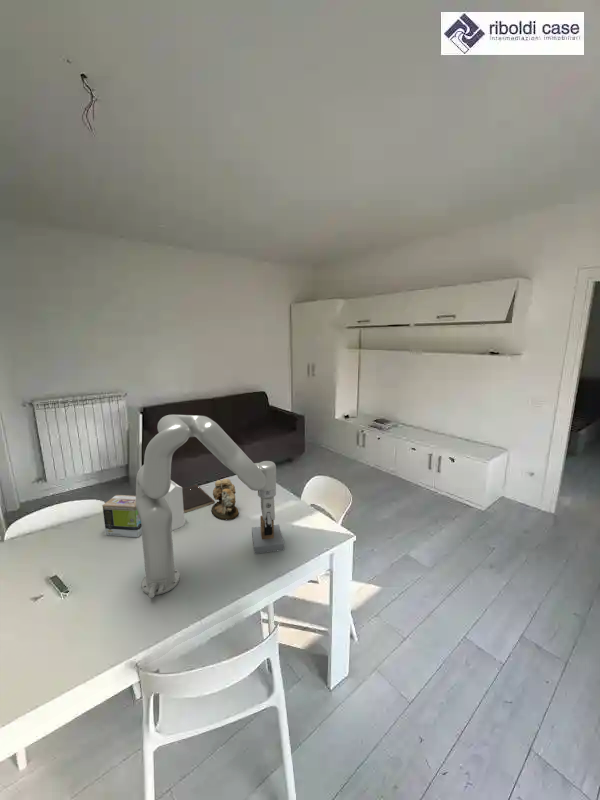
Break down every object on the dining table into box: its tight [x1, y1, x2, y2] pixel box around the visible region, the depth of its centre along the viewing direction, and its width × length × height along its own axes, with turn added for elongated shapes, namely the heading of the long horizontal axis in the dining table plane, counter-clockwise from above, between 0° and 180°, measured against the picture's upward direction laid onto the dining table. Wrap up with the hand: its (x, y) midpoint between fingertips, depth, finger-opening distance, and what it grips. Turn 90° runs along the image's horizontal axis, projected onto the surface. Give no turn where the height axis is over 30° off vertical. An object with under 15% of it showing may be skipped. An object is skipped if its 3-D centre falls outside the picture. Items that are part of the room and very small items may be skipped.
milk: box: [164, 479, 186, 532], centre depth 153 cm, size 6×6×22 cm
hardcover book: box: [182, 484, 216, 514], centre depth 179 cm, size 16×23×2 cm
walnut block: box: [260, 515, 275, 539], centre depth 143 cm, size 5×5×8 cm
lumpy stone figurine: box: [211, 478, 240, 521], centre depth 166 cm, size 18×12×17 cm, turn 42°
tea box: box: [101, 494, 142, 538], centre depth 149 cm, size 15×10×15 cm
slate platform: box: [251, 524, 285, 555], centre depth 144 cm, size 14×12×3 cm
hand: (267, 529), depth 143 cm, fingers open, 6 cm apart
